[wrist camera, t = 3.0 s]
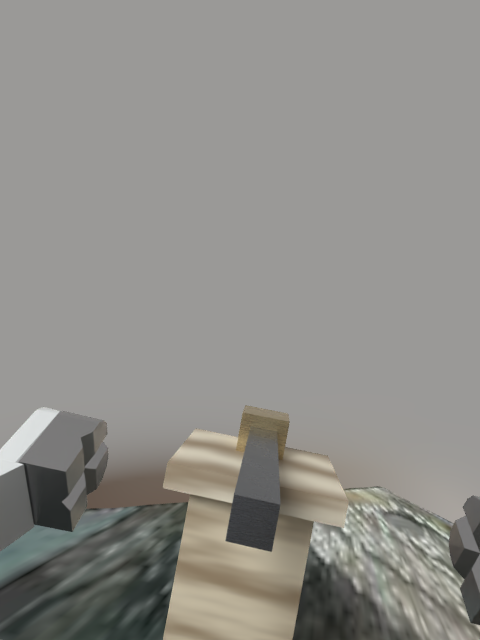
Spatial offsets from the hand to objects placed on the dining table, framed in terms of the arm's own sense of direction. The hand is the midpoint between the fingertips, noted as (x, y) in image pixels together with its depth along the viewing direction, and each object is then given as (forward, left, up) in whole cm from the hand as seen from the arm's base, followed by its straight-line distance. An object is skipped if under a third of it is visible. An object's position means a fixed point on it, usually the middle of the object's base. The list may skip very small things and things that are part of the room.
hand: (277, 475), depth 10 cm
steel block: (-4, -24, -8) cm, 25 cm away
